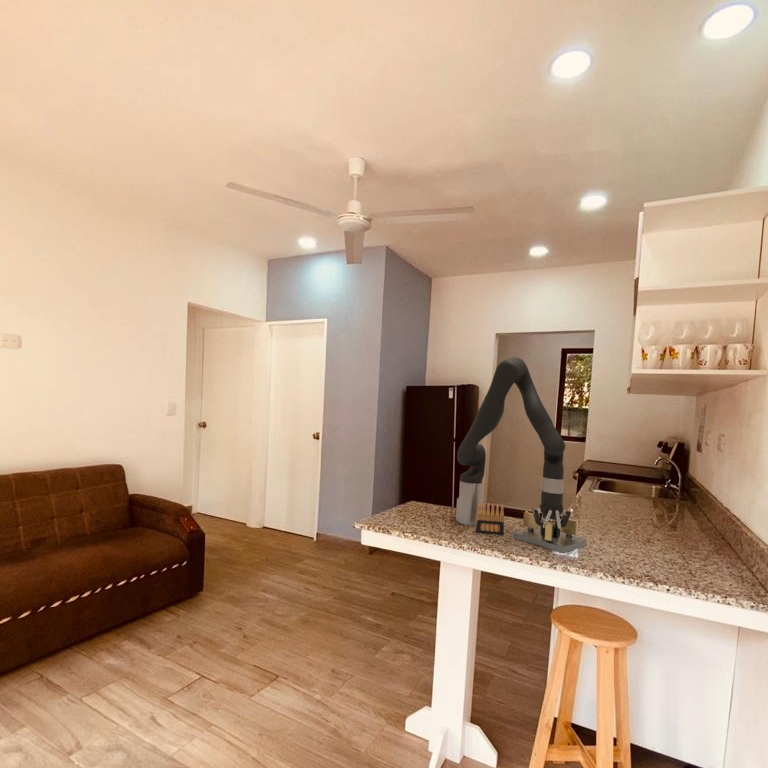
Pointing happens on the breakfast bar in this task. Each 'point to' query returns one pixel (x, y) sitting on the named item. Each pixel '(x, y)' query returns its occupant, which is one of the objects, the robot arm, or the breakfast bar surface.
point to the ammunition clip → (490, 520)
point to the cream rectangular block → (570, 528)
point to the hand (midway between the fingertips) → (550, 537)
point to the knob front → (549, 531)
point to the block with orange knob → (530, 521)
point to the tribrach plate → (560, 544)
